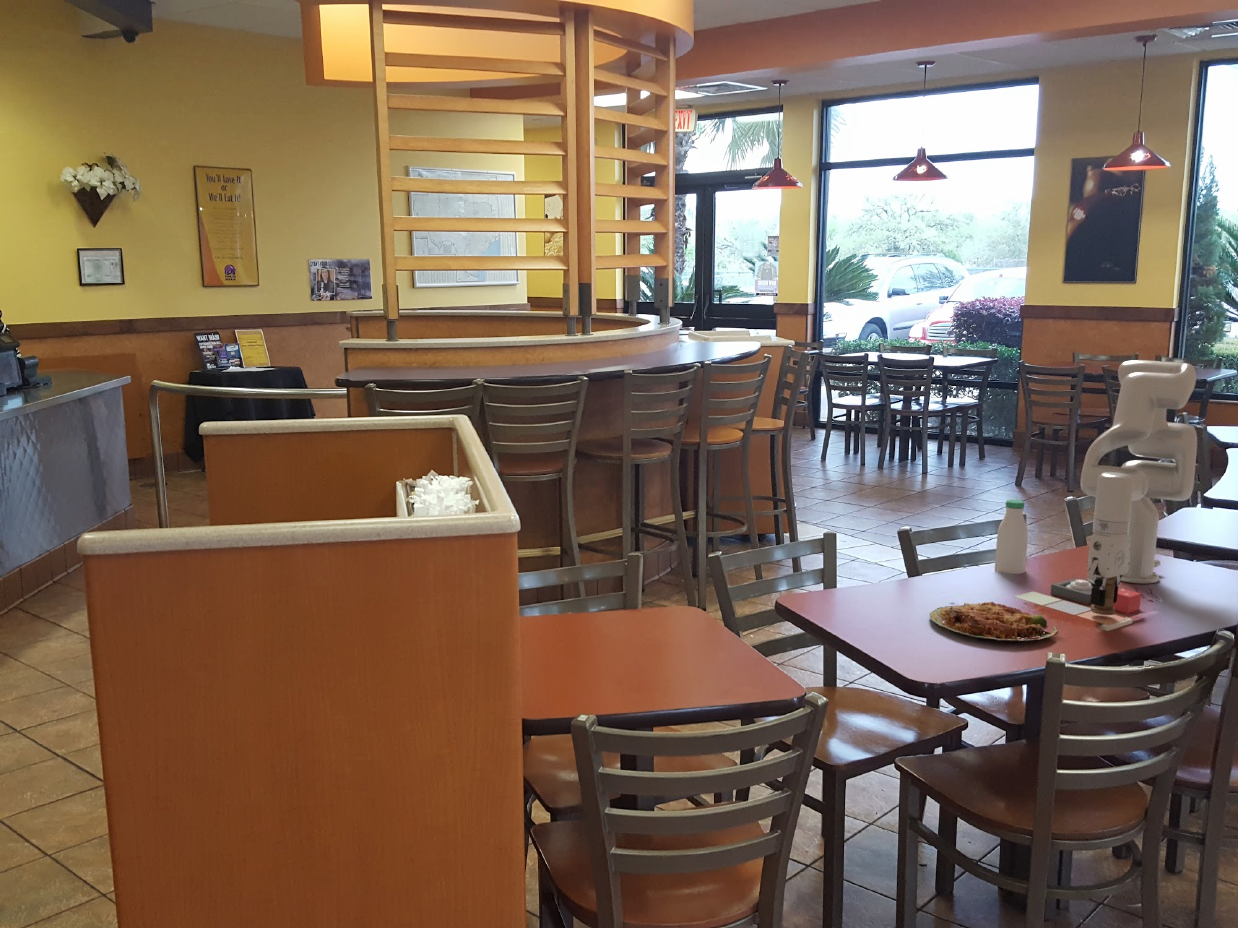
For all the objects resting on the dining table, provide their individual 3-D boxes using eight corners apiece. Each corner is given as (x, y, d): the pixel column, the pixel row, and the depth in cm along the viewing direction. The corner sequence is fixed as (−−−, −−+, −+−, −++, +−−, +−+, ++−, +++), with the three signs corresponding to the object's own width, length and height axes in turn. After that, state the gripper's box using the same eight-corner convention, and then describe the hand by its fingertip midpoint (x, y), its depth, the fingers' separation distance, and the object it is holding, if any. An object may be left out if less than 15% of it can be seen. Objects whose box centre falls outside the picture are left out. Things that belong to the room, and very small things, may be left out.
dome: (1076, 586, 268) (1077, 575, 267) (1102, 594, 262) (1103, 582, 261) (1059, 591, 264) (1060, 580, 263) (1085, 598, 258) (1086, 587, 257)
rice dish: (952, 605, 262) (953, 584, 261) (1071, 623, 246) (1072, 601, 245) (911, 636, 240) (911, 613, 239) (1038, 658, 223) (1039, 633, 223)
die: (1119, 608, 257) (1121, 587, 256) (1138, 613, 253) (1141, 592, 252) (1107, 611, 254) (1109, 590, 253) (1127, 617, 250) (1129, 595, 249)
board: (1033, 594, 267) (1033, 590, 267) (1132, 623, 246) (1132, 618, 246) (1008, 600, 262) (1009, 596, 261) (1107, 630, 240) (1107, 626, 240)
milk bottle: (1029, 577, 282) (1035, 504, 278) (999, 577, 282) (1005, 504, 278) (1018, 569, 289) (1024, 498, 285) (990, 569, 289) (995, 497, 286)
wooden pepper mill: (1098, 606, 250) (1103, 562, 248) (1119, 612, 246) (1124, 567, 244) (1085, 610, 247) (1090, 565, 245) (1106, 616, 243) (1111, 571, 241)
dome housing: (1073, 591, 270) (1075, 578, 269) (1110, 601, 262) (1111, 588, 261) (1050, 597, 264) (1051, 584, 264) (1087, 608, 256) (1088, 594, 256)
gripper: (1105, 534, 235) (1097, 613, 238) (1147, 525, 244) (1139, 601, 248) (1074, 527, 241) (1067, 604, 245) (1116, 518, 250) (1109, 593, 254)
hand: (1103, 602), depth 246 cm, fingers open, 4 cm apart
